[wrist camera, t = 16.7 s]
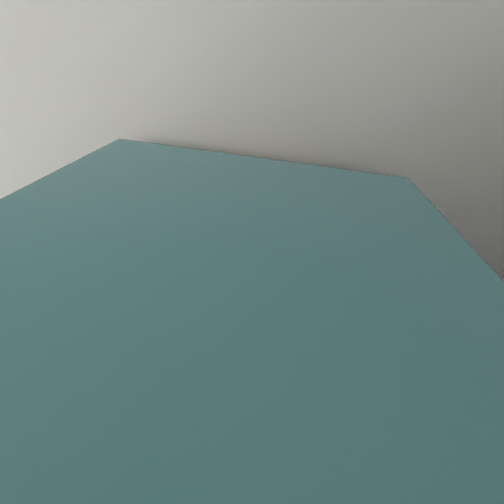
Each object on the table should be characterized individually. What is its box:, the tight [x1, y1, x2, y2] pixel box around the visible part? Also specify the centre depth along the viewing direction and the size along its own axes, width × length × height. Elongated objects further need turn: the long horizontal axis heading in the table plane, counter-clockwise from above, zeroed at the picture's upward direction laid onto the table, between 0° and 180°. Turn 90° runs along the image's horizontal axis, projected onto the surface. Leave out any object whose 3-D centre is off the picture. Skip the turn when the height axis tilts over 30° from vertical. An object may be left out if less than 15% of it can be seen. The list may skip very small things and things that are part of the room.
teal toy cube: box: [0, 139, 504, 504], centre depth 7 cm, size 8×8×9 cm
